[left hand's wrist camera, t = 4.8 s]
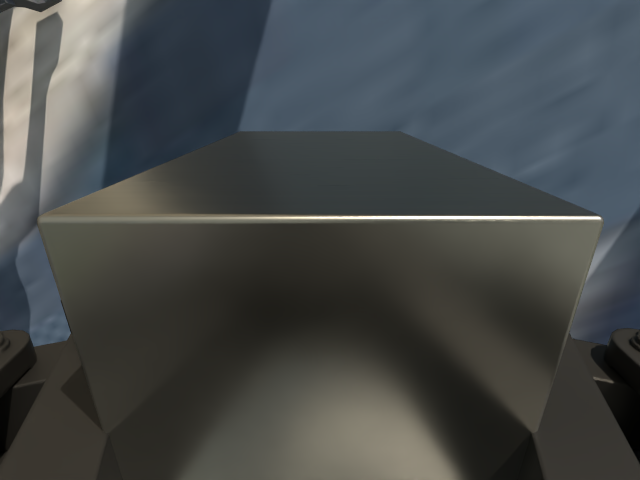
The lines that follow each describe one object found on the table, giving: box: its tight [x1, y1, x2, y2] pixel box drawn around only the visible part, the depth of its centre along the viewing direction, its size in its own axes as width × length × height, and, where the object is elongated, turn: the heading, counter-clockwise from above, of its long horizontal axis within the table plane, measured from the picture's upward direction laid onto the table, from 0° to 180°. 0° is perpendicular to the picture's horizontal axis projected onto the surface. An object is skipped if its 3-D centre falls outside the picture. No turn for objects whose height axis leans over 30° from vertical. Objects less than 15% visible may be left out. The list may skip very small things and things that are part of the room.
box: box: [37, 131, 604, 480], centre depth 13 cm, size 22×6×10 cm, turn 0°
